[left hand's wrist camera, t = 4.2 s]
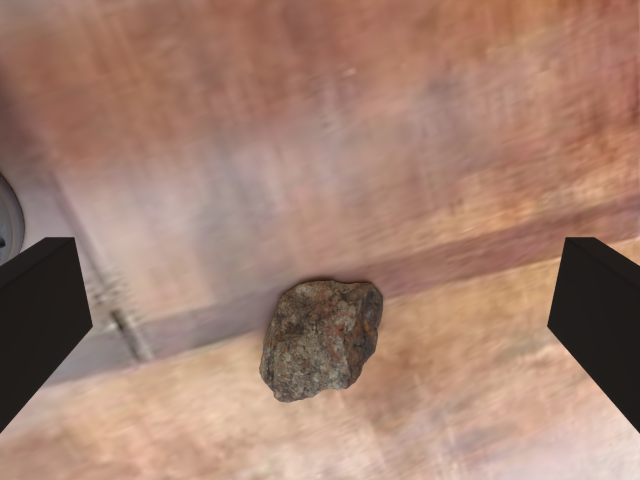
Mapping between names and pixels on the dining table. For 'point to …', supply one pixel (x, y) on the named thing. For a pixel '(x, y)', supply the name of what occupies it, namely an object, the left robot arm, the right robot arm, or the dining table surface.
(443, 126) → the dining table surface
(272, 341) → the rock
